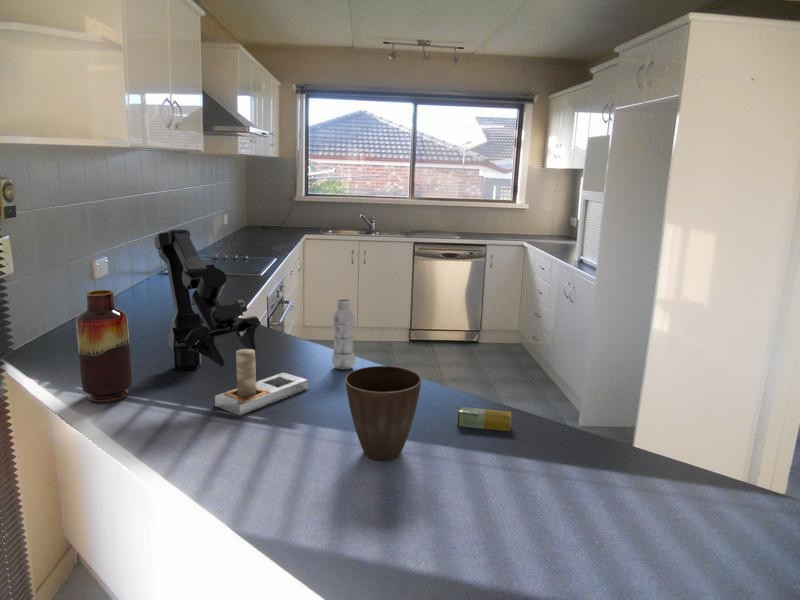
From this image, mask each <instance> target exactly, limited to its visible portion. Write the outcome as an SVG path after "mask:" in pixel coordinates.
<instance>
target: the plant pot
mask: <svg viewBox="0 0 800 600" xmlns="http://www.w3.org/2000/svg"><path fill="white" fill-rule="evenodd" d="M344 380H345V386H346V393H347V401H348V406H349V410H350V414H351V418H352V423H353V426H354V429H355V432H356V436H357V437H358V441H359V443H360V447H361V449H362V451H363V454H364V455H365V457H367V458H368V459H370V460H372V461H377V462H378V461H379V462H388V461H389V462H390V461H393V460H395V459H397V458H399V457H400V456H401V454H402V451H403V449H404V447H405V444H406V441H407V439H408V436H409V433H410V431H411V428H412V425H413V420H414V417H415V413H416V409H417V406H418V401H419V397H420V390H421V386H422V385H421V384H422V378H421V376H420V375H419V373H417V372H415V371H413V370H411V369H407V368H403V367H400V366H399V367H398V366H389V365H388V366H387V365H381V366H380V365H379V366H368V367H362V368H358V369H355V370H353V371H351V372H349V373H348V374H347V375H346V376H345V378H344Z"/></svg>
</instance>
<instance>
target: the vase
mask: <svg viewBox="0 0 800 600" xmlns="http://www.w3.org/2000/svg"><path fill="white" fill-rule="evenodd" d="M85 297H86V299H85V300H86V309H85V310H84V311H81V312H80V313H79V314H78V316H77V317H76V319H75V325H76V326H75V328H76V339H77V349H78V351H77V352H78V360H79V370H80V379H81V387H82V388H81V389H82V391H83V392H84V393H86V394H88V396H87V400H88V401H89V402H90V403H94V404H110V403H115V402H118V401H119V402H120V401H121V400H124V399H126V398H127V397H128V396H129V395H130V394H129V390H128V389H129V388H130V387H131V386H132V384H133V379H132V378H133V375H132V373H133V372H132V360H131V347H130V335H129V322H128V315H127V314H126V313H125V312H124V311H123V310H122V309H120V308H117V307H116V305H115V297H114V291H113V290H110V289H98V290H91V291H88V292H86V293H85ZM125 397H126V398H125Z"/></svg>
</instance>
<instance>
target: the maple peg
mask: <svg viewBox="0 0 800 600" xmlns="http://www.w3.org/2000/svg"><path fill="white" fill-rule="evenodd" d="M235 360H236V362H235V364H236V365H235V366H236V367H235V368H236V389H237V396H239V397H242V398H245V399H246V398H249V397H251V396H254V395H256V382H257V377H256V376H257V372H256V368H257V367H256V366H257V365H256V357H255V350H253V349H246V348H242V349H238V350H236V351H235Z"/></svg>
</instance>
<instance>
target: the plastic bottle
mask: <svg viewBox="0 0 800 600" xmlns="http://www.w3.org/2000/svg"><path fill="white" fill-rule="evenodd" d="M336 307H337V309H336V310H335V312H334V313H333V315H332V319H331V322H332V327H333V338H334V339H333V340H334V341H333V353H332V358H331V363H332V366H333V367H334V369H337V370H350V369H352V368H353V367H354V366H355V363H356V361H355V360H356V357H355V352H354V329H355V322H356V318H355V315H354V313H353V311H352V310H351V300H350V299H348V298H341V299H337V300H336Z"/></svg>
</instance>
